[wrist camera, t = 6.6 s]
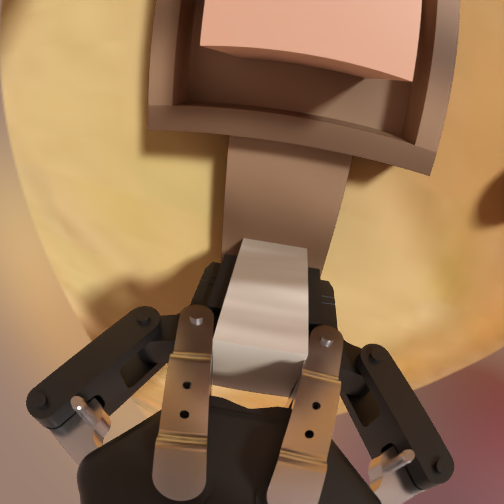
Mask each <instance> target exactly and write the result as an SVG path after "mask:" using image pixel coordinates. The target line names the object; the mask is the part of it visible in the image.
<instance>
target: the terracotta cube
mask: <svg viewBox="0 0 504 504" xmlns="http://www.w3.org/2000/svg"><path fill="white" fill-rule="evenodd" d="M421 8H422V0H205V4H204V12H203V21H202V30H201V39H200V46H203V47H206V48H210V49H213V50H217V51H220V52H223V53H226V54H229V55H232V56H235V57H238V58H251V59H262V60H271V61H280V62H287V63H294V64H301V65H307V66H312V67H318V68H323V69H328V70H333V71H337V72H342V73H346V74H350V75H354V76H358V77H362V78H369V79H386V80H399V81H409V82H412V81H413V75H414V69H415V63H416V56H417V48H418V40H419V31H420V21H421Z"/></svg>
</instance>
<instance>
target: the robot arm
mask: <svg viewBox="0 0 504 504" xmlns="http://www.w3.org/2000/svg"><path fill="white" fill-rule="evenodd" d="M237 257H238V256H237V255H231V254H225V255H224V258H223V261H222V264H221V263H215V262H212V263H211V264H210V265H209V266H208V267H206V269H205V271H204V273H203V276H202V278H201V280H200V283H199V285H198V287H197V290H196V292H195V295H194V297H193V299H192V302H191V304H190V306H187V307H186V308H184V309H183V310H182V311H181V313H180V314H177V315H167V316H160V314H159V312H158V311H157V310H156V309H154V308H152V307H148V306H142V307H138V308H135V309H134V310H132V311H131V312H129V313H128V314H127V315H126V316H124V317H123V318H122V319H120V320H119V321H118V322H116V323H115V324H114V325H113V326H111V327H110V328H109V329H107V330H106V331H105V332H104V333H102V334H101V335H100V336H98V337H97V338H96V339H95V340H93V341H92V342H91V343H90V344H88V345H87V346H86V347H84V348H83V349H82V350H81V351H79V352H78V353H77V354H75V356H73V357H72V358H70V359H69V360H68V361H67V362H66V363H64V364H63V365H62V366H60V367H59V368H58V369H57V370H55V371H54V372H53V373H52V374H50V375H49V376H48V377H47V378H46V379H44V380H43V381H42V382H41V383H39V384H38V385H37V386H36V387H35V388H33V389H32V390H31V391H30V393H29V394H28V396H27V400H26V406H27V409H28V411H29V413H30V414H31V415H32V416H33V417H34V418H35V419H36V420H37V421H39V422H40V424H41V425H42V426H43V427H44V428H46V429H47V430H48V431H49V432H50V433H52V434H53V435H54V437H55V438H56V439H57V440H58V441H59V443H60V444H61V445H62V446H63V448H64V449H65V450H66V451H67V452H68V454H69V455H70V456H71V457H72V458H73V459H74V460H75V462H76V463H77V464H78V465H79V468H78V472H77V483H78V489H79V493H80V501H81V504H402V503H404V502H405V501H407V500H409V499H410V498H411V497H413V496H415V495H416V494H418V493H420V492H423V491H425V490H428V489H430V488H433V487H435V486H438V485H440V484H442V483H444V482H446V481H447V480H449V478H450V477H451V476H452V474H453V471H454V462H453V459H452V457H451V455H450V453H449V451H448V450H447V448H446V446H445V444H444V442H443V441H442V439H441V437H440V435H439V433H438V432H437V430H436V428H435V427H434V425H433V423H432V421H431V420H430V418H429V416H428V415H427V413H426V411H425V410H424V408H423V407H422V405H421V403H420V401H419V400H418V398H417V397H416V395H415V393H414V392H413V390H412V388H411V387H410V385H409V384H408V382H407V380H406V379H405V377H404V376H403V374H402V373H401V371H400V369H399V368H398V366H397V365H396V363H395V362H394V360H393V359H392V357H391V356H390V354H389V352H388V351H387V350H386V349H385V348H384V347H382V346H380V345H377V344H368V345H366V346H364V347H363V348H359V347H356V346H354V345H351V344H349V343H347V342H346V341H345V340H344V339H343V336H342V334H341V333H340V332H339V331H338V329H337V318H336V308H335V299H334V290H333V287H332V286H331V284H330V283H329V281H325V280H320V269H316V268H310V267H308V356H307V359H306V360H304V362H303V364H302V367H301V370H300V374H299V377H298V379H297V381H296V383H295V385H294V388H292V389H291V391H290V393H289V397H288V400H287V403H286V406H285V408H284V407H270V408H258V409H248V408H245V407H243V406H240V405H238V404H236V403H233V402H231V401H229V400H226V399H224V398H220V397H215V396H212V380H213V337H214V333H215V330H216V327H217V323H218V320H219V317H220V313H221V310H222V307H223V303H224V300H225V297H226V293H227V290H228V287H229V283H230V280H231V277H232V274H233V270H234V267H235V264H236V261H237ZM166 363H168V369H167V375H166V382H165V389H164V396H163V403H162V410H160V411H158V412H157V413H155V414H154V415H152V416H151V417H149V418H147V419H146V420H144V421H143V422H141V423H140V424H138V425H136V426H135V427H133V428H131V429H130V430H128V431H126V432H125V433H123V434H121V435H120V436H118V437H116V438H115V439H113V440H111V441H109V442H108V443H106V444H104V445H103V439H104V437H105V435H106V434H107V433H108V431H109V429H110V427H111V421H110V417H109V416H110V415H111V414H112V413H113V412H114V411H116V410H117V409H118V408H119V407H120V406H121V405H122V404H123V403H124V402H125V401H126V400H127V399H129V398H130V397H131V396H132V395H133V394H134V393H135V392H136V391H137V390H138V389H139V388H140V387H142V386H143V385H144V384H145V383H146V382H147V381H148V380H149V379H150V378H151V377H152V376H153V375H154V374H155V373H156V372H158V371H159V370H160V369H161V368H162V367H163V366H164V365H165V364H166ZM339 396H341V398H342V400H343V402H344V404H345V406H346V408H347V410H348V412H349V414H350V416H351V418H352V420H353V422H354V424H355V426H356V428H357V430H358V432H359V434H360V436H361V438H362V440H363V442H364V444H365V446H366V448H367V450H368V452H369V454H370V456H371V458H372V461H371V462H370V464H369V467H368V474H369V478H370V486H368V485H367V483H366V482H365V481H364V479H363V478H362V477H361V476H360V474H359V473H358V472H357V471H356V469H355V468H354V467H353V466H352V465H351V463H350V462H349V461H348V459H347V458H346V457H345V455H344V454H343V453H342V452H341V450H340V449H339V448H338V446H337V445H336V444H335V442H334V441H333V440H332V434H333V429H334V423H335V418H336V413H337V408H338V402H339Z"/></svg>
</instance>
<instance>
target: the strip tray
mask: <svg viewBox="0 0 504 504" xmlns="http://www.w3.org/2000/svg"><path fill="white" fill-rule="evenodd" d="M204 4H205V0H156V5H155V13H154V22H153V31H152V42H151V55H150V71H149V94H148V130H162V131H184V132H199V133H211V134H222V135H229V144H228V157H227V171H226V185H225V200H224V216H223V233H222V252H221V264H222V261H223V258H224V255H225V254H231V255H237V256H238V257H237V261H236V264H235V267H234V270H233V274H232V277H231V280H230V283H229V287H228V290H227V293H226V297H225V300H224V303H223V307H222V310H221V313H220V317H219V320H218V323H217V327H216V330H215V333H214V337H213V385H217V386H222V387H227V388H232V389H238V390H243V391H249V392H256V393H262V394H269V395H276V396H284V397H289V393H290V391H291V389H292V388H294V385H295V383H296V381H297V379H298V377H299V374H300V370H301V367H302V364H303V362H304V360H306V359H307V356H308V267H310V268H316V269H320V276H321V273H322V270H323V266H324V263H325V260H326V256H327V253H328V250H329V246H330V243H331V239H332V236H333V232H334V228H335V225H336V221H337V217H338V214H339V210H340V206H341V202H342V198H343V194H344V191H345V187H346V182H347V178H348V174H349V170H350V166H351V161H352V157H353V156H358V157H362V158H366V159H370V160H374V161H378V162H382V163H386V164H390V165H393V166H397V167H401V168H404V169H408V170H411V171H414V172H418V173H421V174H424V175H428V176H430V173H431V170H432V167H433V163H434V160H435V156H436V153H437V149H438V146H439V142H440V138H441V134H442V130H443V126H444V121H445V117H446V112H447V108H448V103H449V98H450V93H451V87H452V81H453V75H454V68H455V61H456V53H457V44H458V33H459V18H460V0H422V8H421V21H420V31H419V40H418V48H417V56H416V63H415V69H414V75H413V81H412V82H409V81H399V80H386V79H369V78H362V77H358V76H354V75H350V74H346V73H342V72H337V71H333V70H328V69H323V68H318V67H312V66H307V65H301V64H294V63H287V62H280V61H271V60H262V59H251V58H238V57H235V56H232V55H229V54H226V53H223V52H220V51H217V50H213V49H210V48H206V47H203V46H200V39H201V30H202V21H203V12H204Z"/></svg>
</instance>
